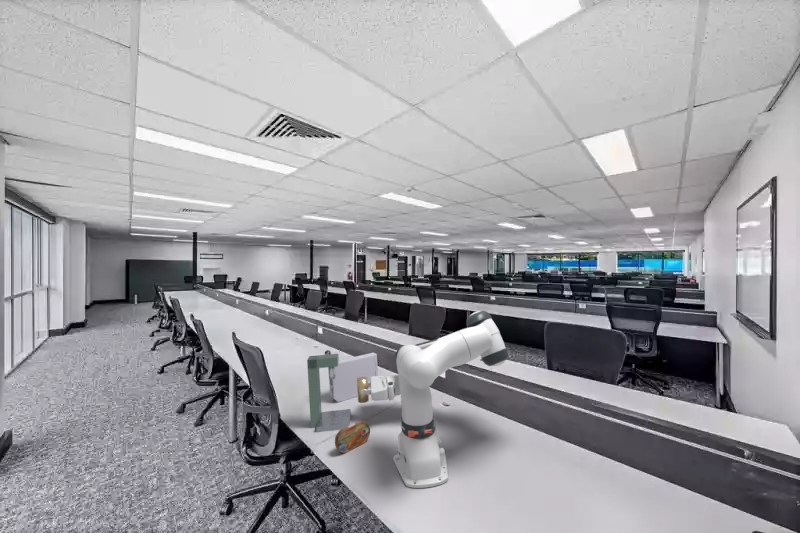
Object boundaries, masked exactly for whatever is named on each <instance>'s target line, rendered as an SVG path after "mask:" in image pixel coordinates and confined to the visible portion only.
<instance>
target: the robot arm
mask: <svg viewBox="0 0 800 533" xmlns="http://www.w3.org/2000/svg"><path fill="white" fill-rule="evenodd" d="M492 317H493V316H492V315H490V313H489V312H488V311H487V310H486V311H485V310H479V311H478V310H477V311H474V312H473V313H471V314H470V315H469V316H468V317H467V319H466V327H465V328H462V329H460V330H457V331H455V332H452V333H449V334H446V335H445V336H442V337H438V338H435V339H431V340H427V341H423V342H420V343H416V344H405V345H402V346H401V347H399V348H398V349H397V350H396V352H395V353H394V358H395V363H396V369H397V370H396V371H397V374H395V375H394V374H393V375H386V376H385V375H378V376H372V377H371V382H368V387H371V389H361V394H367V395H369V396H371V398H370V399H371V401H373V402H376V401H377V402H379V401H387V400H388V401H393V400H394V399H395V398H396V396H400V400H401V401H400V402H401V403H400V404H401V420H400V428H401V430H400V433H398V435H397V453H396V454H395V455H394V456H393V457H392V458H393V459H392V460H393V463H394V465H395V467H396V469H397V470H398V473H399V474H400V477H401V478H402V481H403V483H404V485H405V486H406V487H409V488H411V489H412V488H414V489H424V488H431V487H436V486H440V485H443V484H445V483H447V482H448V481H449V475H448V474H449V472H448V466H447V457H446V451H445V448H444V447H441V446H439V444H441V443H442V440H441V438H439V431H438V430H437V428H436V423H435V418H434V414H433V412H434V411H433V399H432V398H433V396H432V393H431V388H430V387H431V386H432V385H433V383H434V382H435V379H437V378H438V377H439V376H440V375H442V374H444V373H445V372H446V371H449V369H451V368H453V367H458V366H460V367H461V366H462V365H465V364H467V363H470V362H471V361H474V360H476V359H477V358H479V357H481V358H480V359H479V360H480V362H483V364H484V365H486V366H488V367H499V366H501V365H503V364H504V363H505V362H506V361H507V360H508V359H509V357H510V356H509V352H508V348H507V347H506V345H505V342H504V340H503V337H502V335H501V332H500V330H499V328H498V326H497V325H496V323H495V322H494V320H493V318H492Z"/></svg>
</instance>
